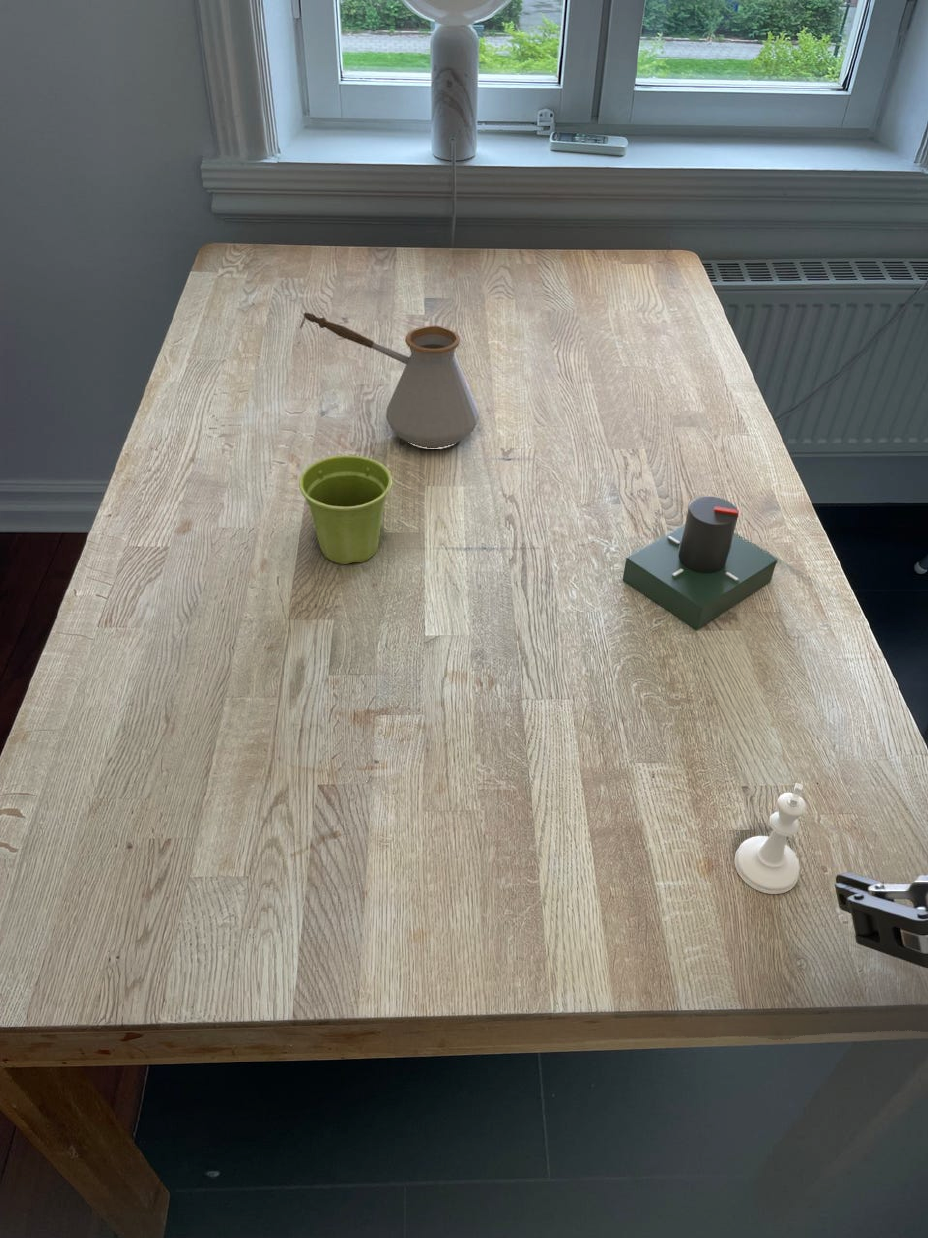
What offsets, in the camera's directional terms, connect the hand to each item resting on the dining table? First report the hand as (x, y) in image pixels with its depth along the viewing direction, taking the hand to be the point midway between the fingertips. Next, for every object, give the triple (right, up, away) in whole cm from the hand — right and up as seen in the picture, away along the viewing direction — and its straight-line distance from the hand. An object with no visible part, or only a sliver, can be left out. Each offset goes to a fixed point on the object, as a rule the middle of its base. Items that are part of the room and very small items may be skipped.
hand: (902, 872), depth 60 cm
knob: (-2, +22, +40) cm, 45 cm away
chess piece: (-3, -4, +16) cm, 17 cm away
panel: (-3, +20, +42) cm, 46 cm away
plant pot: (-39, +23, +45) cm, 64 cm away
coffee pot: (-36, +39, +62) cm, 82 cm away
